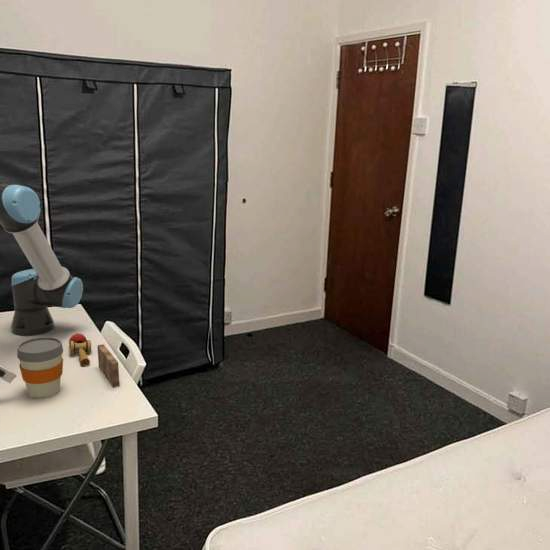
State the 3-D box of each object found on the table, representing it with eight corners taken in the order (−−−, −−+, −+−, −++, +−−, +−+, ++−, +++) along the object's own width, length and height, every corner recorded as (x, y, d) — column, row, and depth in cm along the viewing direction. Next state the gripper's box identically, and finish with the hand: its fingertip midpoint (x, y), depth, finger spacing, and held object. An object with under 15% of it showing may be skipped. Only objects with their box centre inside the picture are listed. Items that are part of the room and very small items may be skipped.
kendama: (99, 367, 186) (89, 341, 200) (95, 351, 183) (85, 326, 197) (76, 374, 183) (67, 348, 197) (71, 359, 180) (63, 333, 194)
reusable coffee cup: (18, 403, 158) (13, 355, 154) (24, 383, 170) (19, 338, 166) (64, 398, 162) (60, 351, 158) (67, 379, 173) (64, 335, 169)
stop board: (98, 367, 182) (97, 345, 180) (104, 366, 183) (103, 344, 181) (113, 387, 169) (111, 363, 167) (119, 385, 170) (118, 362, 168)
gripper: (-73, 338, 151) (1, 380, 164) (-72, 355, 141) (6, 398, 154) (-53, 317, 153) (18, 360, 166) (-51, 332, 142) (25, 377, 155)
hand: (12, 378), depth 160 cm, fingers closed
